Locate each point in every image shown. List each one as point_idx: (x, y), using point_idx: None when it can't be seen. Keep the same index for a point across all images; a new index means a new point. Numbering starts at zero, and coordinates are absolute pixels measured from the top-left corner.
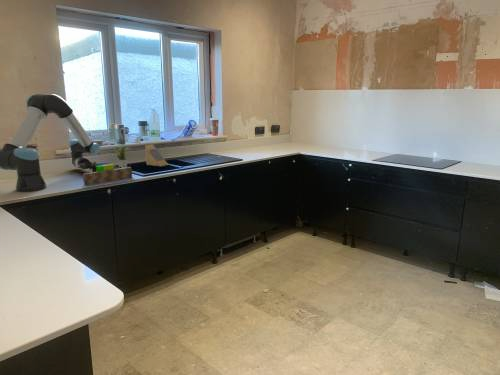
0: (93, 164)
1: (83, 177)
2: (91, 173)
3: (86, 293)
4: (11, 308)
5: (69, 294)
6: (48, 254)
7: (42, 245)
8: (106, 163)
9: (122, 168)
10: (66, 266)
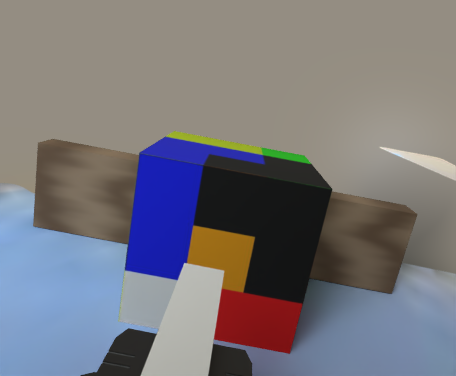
0: (309, 183)
1: (408, 239)
2: (356, 197)
3: (399, 152)
4: (448, 163)
5: (411, 155)
6: (439, 170)
7: (452, 177)
8: (179, 149)
9: (120, 152)
10: (416, 161)
